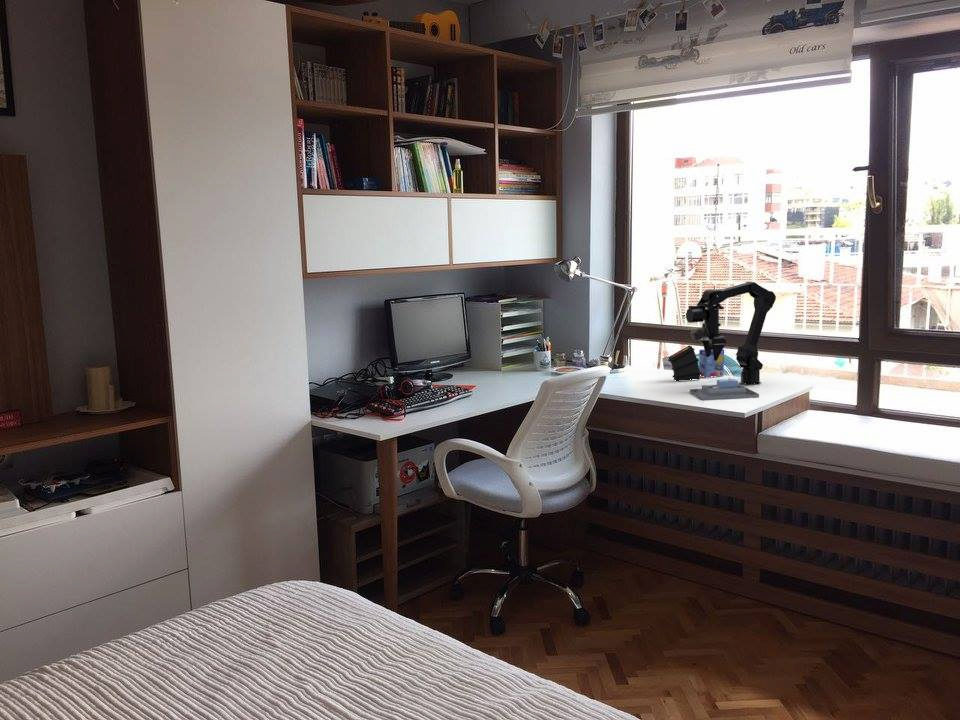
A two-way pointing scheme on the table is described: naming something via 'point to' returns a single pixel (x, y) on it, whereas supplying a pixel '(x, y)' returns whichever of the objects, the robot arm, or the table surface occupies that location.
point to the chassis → (723, 392)
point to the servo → (727, 383)
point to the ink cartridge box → (711, 364)
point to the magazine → (685, 364)
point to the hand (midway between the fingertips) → (711, 358)
